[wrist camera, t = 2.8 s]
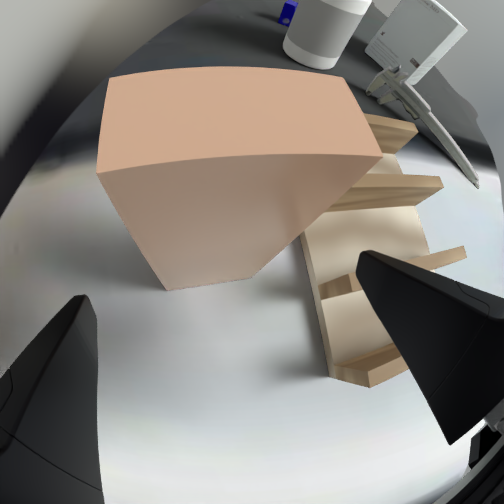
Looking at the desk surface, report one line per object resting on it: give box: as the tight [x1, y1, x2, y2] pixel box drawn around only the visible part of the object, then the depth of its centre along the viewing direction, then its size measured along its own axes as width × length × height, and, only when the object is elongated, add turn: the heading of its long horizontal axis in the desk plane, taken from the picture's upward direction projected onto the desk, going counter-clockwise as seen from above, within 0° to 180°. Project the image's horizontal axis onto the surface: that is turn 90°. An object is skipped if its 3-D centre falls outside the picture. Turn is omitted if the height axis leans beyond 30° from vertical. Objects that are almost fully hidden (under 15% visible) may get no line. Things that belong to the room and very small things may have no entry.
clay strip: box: [96, 67, 384, 291], centre depth 11 cm, size 2×6×14 cm, turn 102°
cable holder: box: [278, 0, 298, 27], centre depth 28 cm, size 8×4×4 cm, turn 66°
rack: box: [299, 113, 467, 388], centre depth 19 cm, size 18×12×5 cm, turn 11°
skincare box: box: [365, 0, 467, 85], centre depth 24 cm, size 8×6×15 cm
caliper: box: [366, 65, 479, 189], centre depth 25 cm, size 20×1×6 cm, turn 63°
